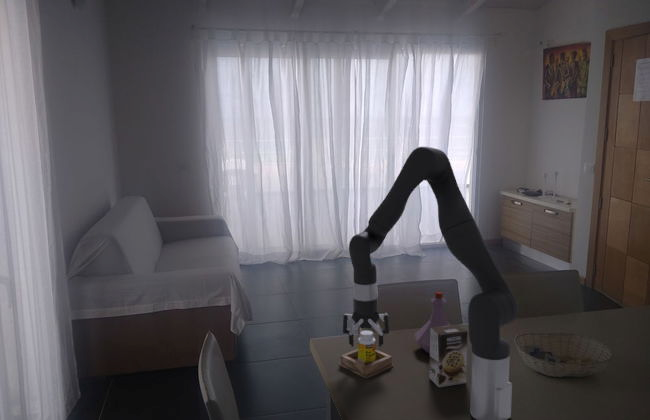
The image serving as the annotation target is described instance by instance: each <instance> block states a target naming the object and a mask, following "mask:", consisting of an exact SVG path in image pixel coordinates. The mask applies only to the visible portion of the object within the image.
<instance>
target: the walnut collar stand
mask: <svg viewBox="0 0 650 420" xmlns="http://www.w3.org/2000/svg"><path fill="white" fill-rule="evenodd" d="M339 367H342V368H344V369H346V370H348V371H349V372H352V373H354V374H356V375H358V376H360V377H362V378H364V380H365V379H366V380H367V379H369V378H371V377H373V376H376V375H378V374H380V373H382V372H385V371H387V370H389V369H391V368H393V367H394V363H393V356H392V355H389V354H387V353H385V352H382V351H381V350H378V349H376V361H375V362H373V363H370V364H368V365H364V364H362V363H360V362H358V348H356V349H354V350H351V351H348V352H346V353H343V354H341V355H340V362H339Z"/></svg>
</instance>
